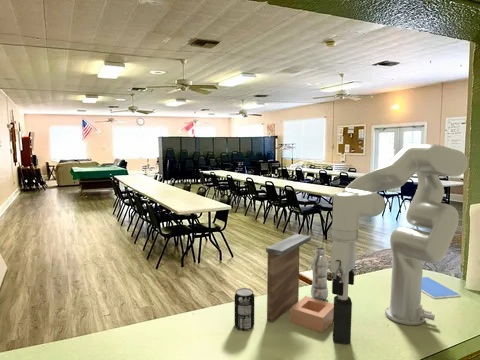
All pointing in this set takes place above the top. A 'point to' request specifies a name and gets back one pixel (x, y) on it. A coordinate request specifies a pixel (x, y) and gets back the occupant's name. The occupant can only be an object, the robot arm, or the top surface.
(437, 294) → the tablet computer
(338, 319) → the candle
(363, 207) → the robot arm
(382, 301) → the top surface
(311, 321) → the socket block
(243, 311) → the beverage can
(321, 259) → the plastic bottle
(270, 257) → the brown board grey top
